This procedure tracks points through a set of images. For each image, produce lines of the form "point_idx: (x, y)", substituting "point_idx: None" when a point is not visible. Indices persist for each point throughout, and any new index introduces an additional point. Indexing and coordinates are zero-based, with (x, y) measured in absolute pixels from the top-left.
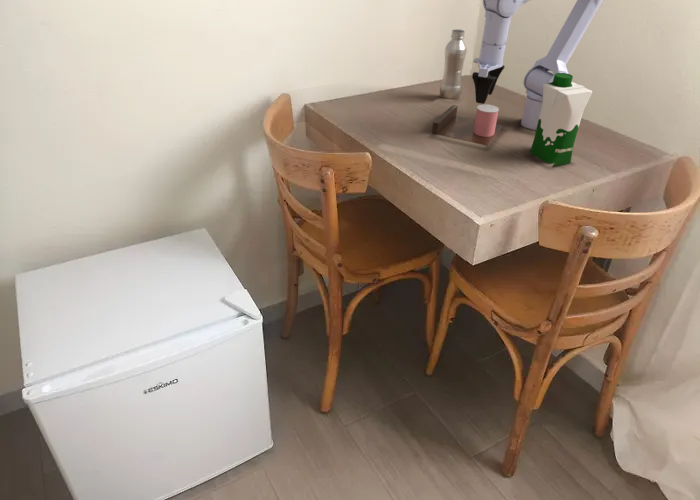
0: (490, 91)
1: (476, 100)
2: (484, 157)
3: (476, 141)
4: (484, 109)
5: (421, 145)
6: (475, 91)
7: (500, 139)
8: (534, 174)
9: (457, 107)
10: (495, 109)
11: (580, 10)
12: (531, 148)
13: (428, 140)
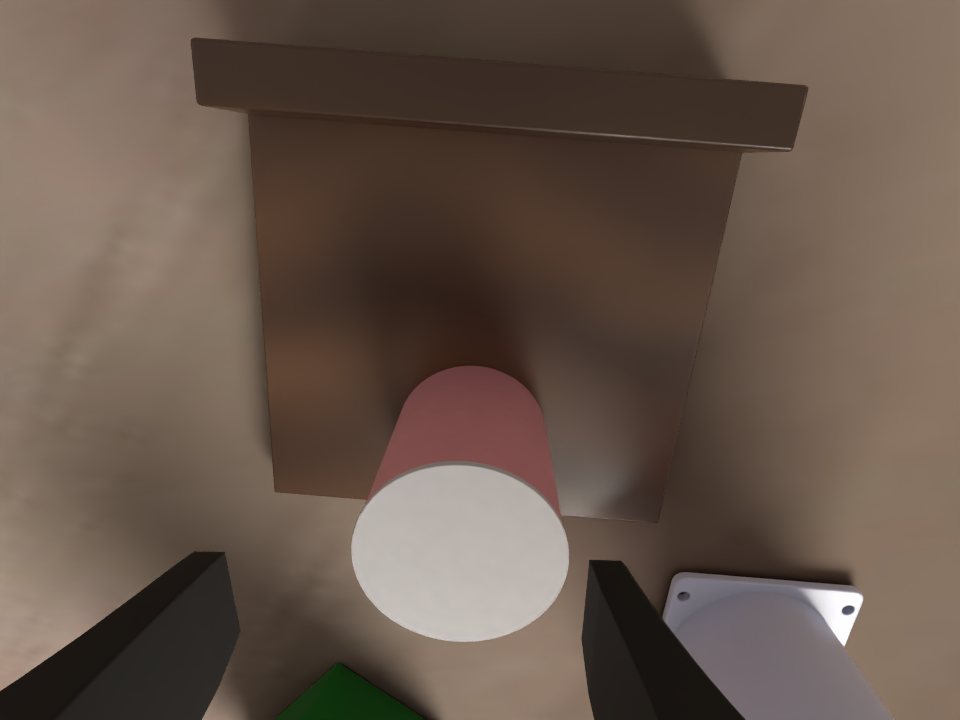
0: (590, 666)
1: (173, 572)
2: (180, 482)
3: (296, 421)
4: (402, 538)
5: (68, 40)
6: (50, 657)
7: None
8: None
9: (781, 151)
10: (458, 618)
11: None
12: (306, 713)
13: None
